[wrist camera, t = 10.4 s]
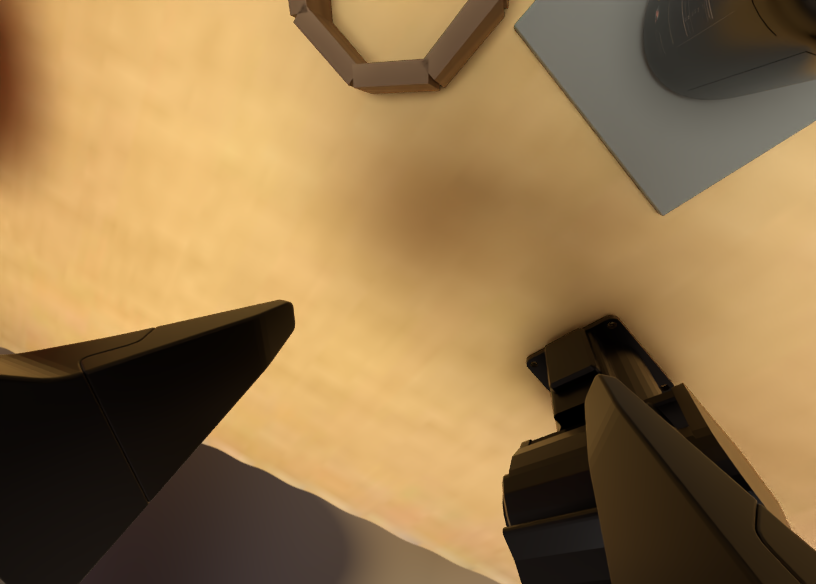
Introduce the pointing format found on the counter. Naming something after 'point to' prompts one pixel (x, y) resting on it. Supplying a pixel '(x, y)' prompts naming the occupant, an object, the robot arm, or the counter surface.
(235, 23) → the counter surface
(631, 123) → the rubber mat
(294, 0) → the walnut collar
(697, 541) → the robot arm
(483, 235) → the counter surface
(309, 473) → the counter surface
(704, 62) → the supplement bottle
